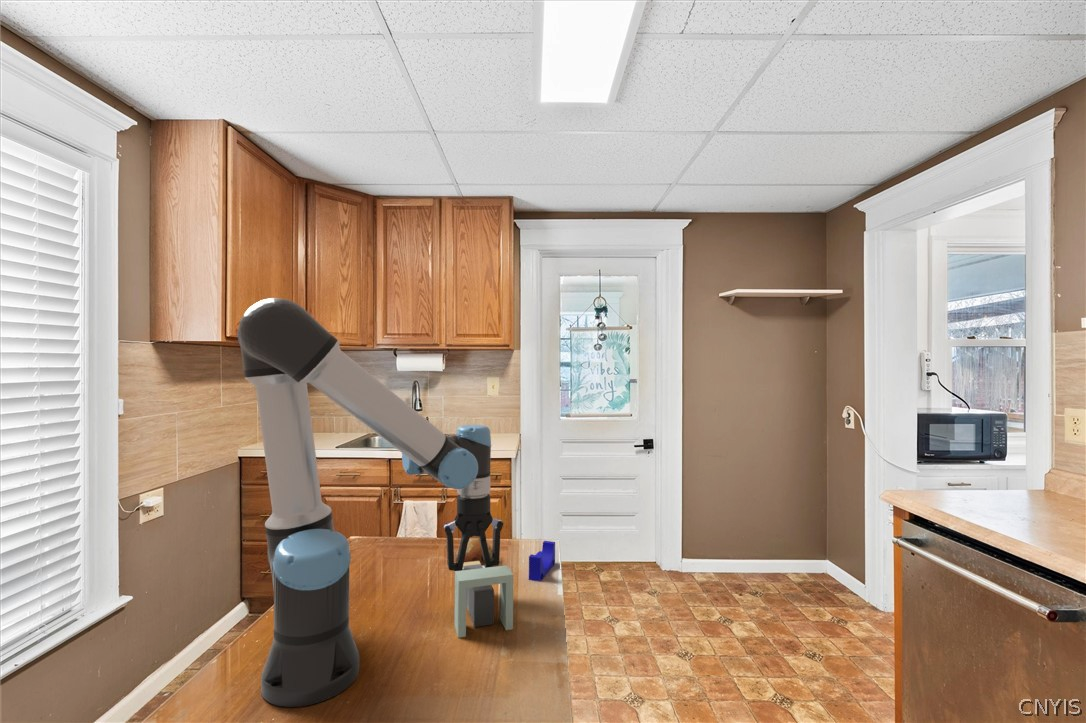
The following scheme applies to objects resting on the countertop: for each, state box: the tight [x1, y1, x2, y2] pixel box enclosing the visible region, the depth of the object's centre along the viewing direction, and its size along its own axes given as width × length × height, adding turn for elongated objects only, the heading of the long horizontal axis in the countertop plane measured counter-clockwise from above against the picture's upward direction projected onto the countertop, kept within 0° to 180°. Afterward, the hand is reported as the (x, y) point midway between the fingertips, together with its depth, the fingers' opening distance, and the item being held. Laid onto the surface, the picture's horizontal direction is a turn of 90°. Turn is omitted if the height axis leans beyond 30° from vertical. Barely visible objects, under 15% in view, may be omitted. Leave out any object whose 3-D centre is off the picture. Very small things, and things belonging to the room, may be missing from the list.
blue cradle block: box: [528, 540, 556, 582], centre depth 133 cm, size 12×4×6 cm, turn 161°
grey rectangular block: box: [463, 561, 495, 628], centre depth 112 cm, size 4×16×7 cm, turn 18°
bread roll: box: [454, 537, 492, 566], centre depth 139 cm, size 10×10×8 cm
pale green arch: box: [453, 564, 514, 639], centre depth 104 cm, size 11×5×11 cm, turn 108°
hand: (473, 597), depth 116 cm, fingers closed on grey rectangular block, 4 cm apart
